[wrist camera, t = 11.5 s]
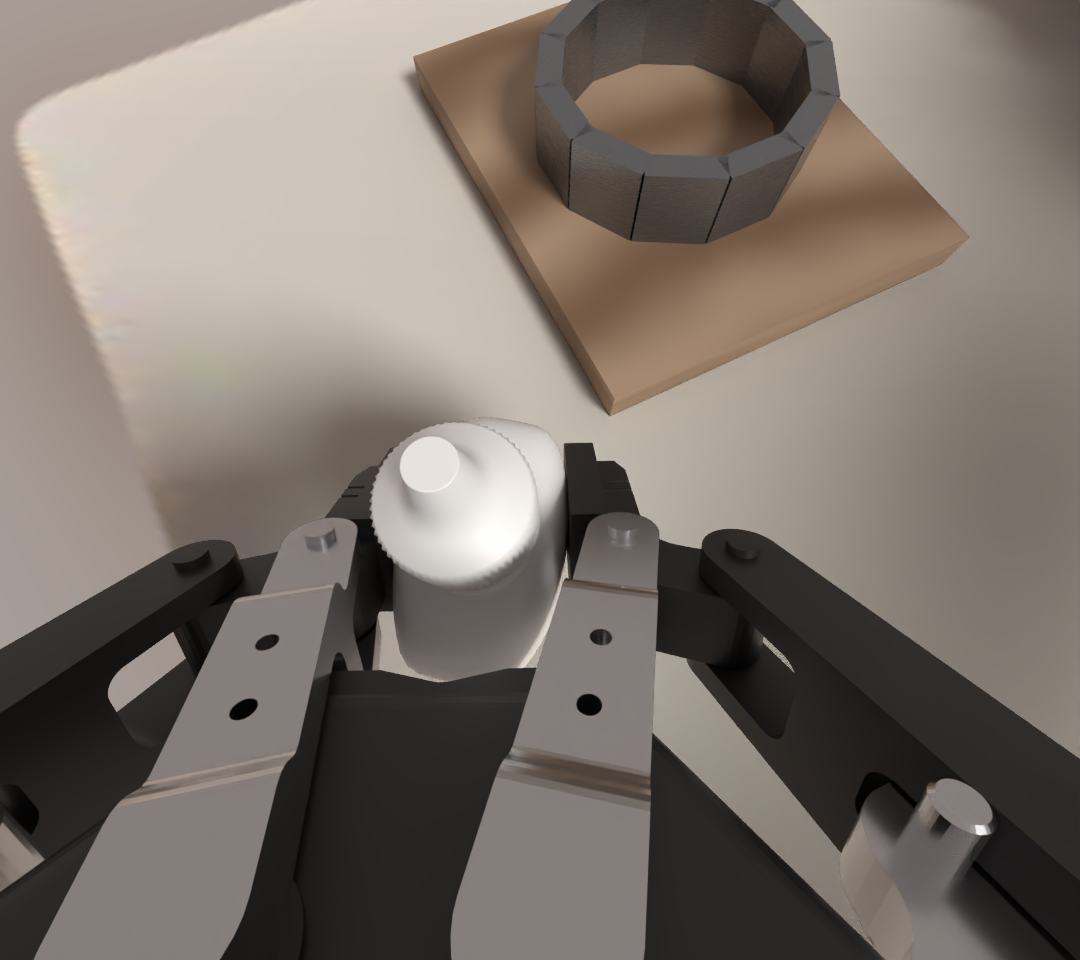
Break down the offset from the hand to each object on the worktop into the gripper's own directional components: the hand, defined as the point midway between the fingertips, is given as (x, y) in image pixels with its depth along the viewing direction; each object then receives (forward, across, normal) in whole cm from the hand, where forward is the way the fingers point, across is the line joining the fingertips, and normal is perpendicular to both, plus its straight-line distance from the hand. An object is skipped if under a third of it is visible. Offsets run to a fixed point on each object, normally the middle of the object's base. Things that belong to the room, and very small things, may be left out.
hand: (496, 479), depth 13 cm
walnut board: (+16, +7, +8) cm, 19 cm away
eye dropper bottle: (+2, 0, -5) cm, 6 cm away
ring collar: (+15, +7, +9) cm, 19 cm away
